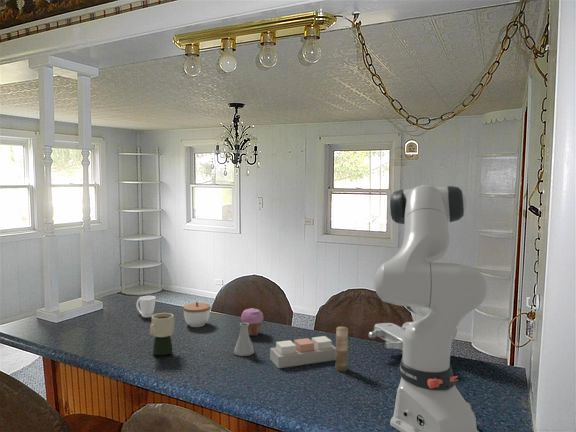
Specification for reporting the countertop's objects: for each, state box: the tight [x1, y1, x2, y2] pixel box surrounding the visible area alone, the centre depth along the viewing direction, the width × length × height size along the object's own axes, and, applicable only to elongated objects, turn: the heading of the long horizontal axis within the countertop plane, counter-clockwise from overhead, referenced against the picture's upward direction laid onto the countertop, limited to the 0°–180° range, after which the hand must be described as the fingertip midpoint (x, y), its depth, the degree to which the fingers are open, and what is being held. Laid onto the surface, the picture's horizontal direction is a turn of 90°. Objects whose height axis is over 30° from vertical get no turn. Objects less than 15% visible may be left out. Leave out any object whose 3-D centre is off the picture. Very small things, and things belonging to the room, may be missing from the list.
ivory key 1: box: [275, 339, 296, 355], centre depth 140 cm, size 5×5×3 cm
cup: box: [135, 295, 157, 318], centre depth 188 cm, size 7×10×8 cm
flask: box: [233, 322, 255, 357], centre depth 147 cm, size 7×7×10 cm
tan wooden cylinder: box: [335, 326, 349, 372], centre depth 135 cm, size 4×4×13 cm
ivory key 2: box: [311, 335, 333, 350], centre depth 145 cm, size 5×5×3 cm
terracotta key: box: [293, 337, 314, 353], centre depth 142 cm, size 5×5×3 cm
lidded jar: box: [183, 301, 211, 328], centre depth 176 cm, size 11×11×9 cm
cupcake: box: [240, 307, 264, 337], centre depth 166 cm, size 9×9×10 cm
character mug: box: [149, 312, 176, 356], centre depth 145 cm, size 11×7×13 cm, turn 152°
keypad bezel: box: [269, 344, 336, 369], centre depth 142 cm, size 8×21×4 cm, turn 111°
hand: (377, 340), depth 140 cm, fingers open, 8 cm apart
